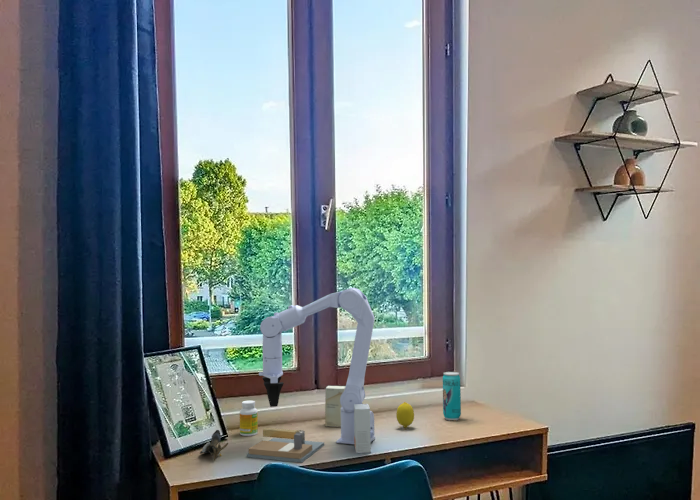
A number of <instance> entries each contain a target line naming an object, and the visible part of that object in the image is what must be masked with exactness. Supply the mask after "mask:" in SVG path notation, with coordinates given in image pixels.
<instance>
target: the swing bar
mask: <svg viewBox="0 0 700 500" xmlns="http://www.w3.org/2000/svg"><path fill="white" fill-rule="evenodd" d="M296 433H299V434H302V444H305V441H306V440H305V439H306V433H305V430H304V429H303V430H301V429H300V430H299V429H298V430H297V429H287V428H286V429H285V428H277V427H276V428H273V427H265V428H263V429H262V437H266V438H280V439H292V440H294V435H295V434H296Z"/></svg>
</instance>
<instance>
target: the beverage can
mask: <svg viewBox="0 0 700 500" xmlns="http://www.w3.org/2000/svg"><path fill="white" fill-rule="evenodd" d="M461 390H462V389H461V377H460V372H456V371H446V372H445V371H444V372H443V376H442V414H443V417H444V419H445V420H447V421H450V420H456V421H460V419H461V415H462V404H461V403H462V402H461V401H462V399H461V396H462V395H461V393H462V392H461Z"/></svg>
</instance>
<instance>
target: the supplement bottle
mask: <svg viewBox="0 0 700 500" xmlns="http://www.w3.org/2000/svg"><path fill="white" fill-rule="evenodd" d="M241 407H242V408H241V409H240V410H239V434H240V435H241V436H243V437H250V436H251V437H252V436H255V435H258V428H259V427H258V423H259V422H258V421H259V419H258V413H259V411H258V409H257V408H256V401H255V400H244V401H242V402H241Z"/></svg>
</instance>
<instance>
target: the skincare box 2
mask: <svg viewBox="0 0 700 500" xmlns="http://www.w3.org/2000/svg"><path fill="white" fill-rule="evenodd" d="M370 411H371V408H370V405H369V404H368V403H362V404H354V444H353V445H354V449H355V453H356V454H368V453H371V452H372V451H371V450H372V448H371V447H372V446H371V443H372V442H371V440H370Z"/></svg>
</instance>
